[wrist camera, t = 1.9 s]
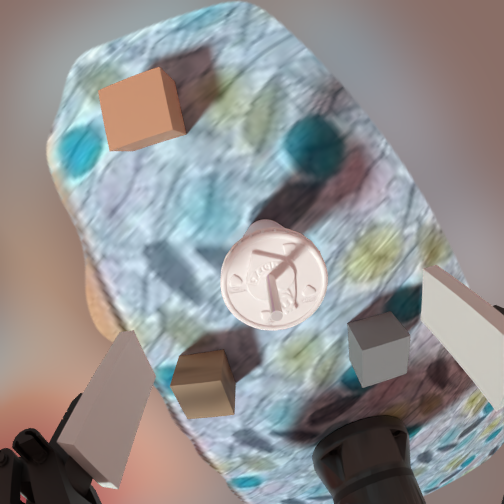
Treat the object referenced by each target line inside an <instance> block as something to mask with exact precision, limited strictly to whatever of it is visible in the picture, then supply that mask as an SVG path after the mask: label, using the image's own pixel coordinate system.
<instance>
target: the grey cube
mask: <svg viewBox="0 0 504 504" xmlns="http://www.w3.org/2000/svg"><path fill="white" fill-rule="evenodd" d="M347 326H348V341H349V359H350V362H351V364H352V366H353V368H354V370H355V372H356V375H357V377H358V379H359V381H360V384H361V386H362V388H364V387H367V386H370V385H374V384H377V383H380V382H383V381H386V380H389V379H392V378H395V377H398V376H401V375H404V374H406V373H407V367H408V358H409V347H410V334H409V333H408V332H407V331H406V329H405V328H404V327H403V326H402V324H401V323H400V322H399V321H398V320H397V318H396V317H395V316H394V315H393V314H392V312H391V311H389V312H386V313H383V314H379V315H376V316H372V317H369V318H365V319H361V320H358V321H354V322H350V323H347Z"/></svg>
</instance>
